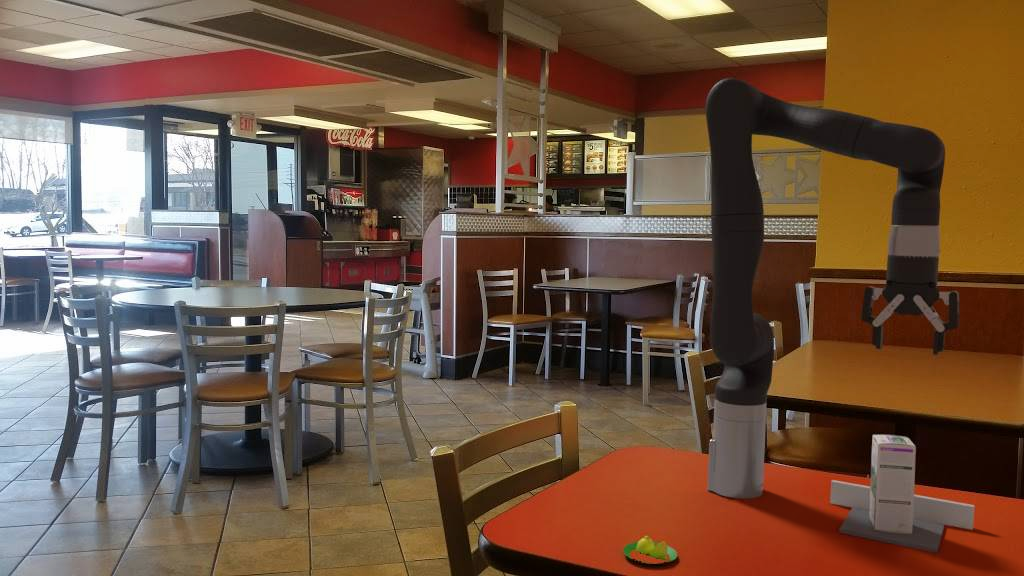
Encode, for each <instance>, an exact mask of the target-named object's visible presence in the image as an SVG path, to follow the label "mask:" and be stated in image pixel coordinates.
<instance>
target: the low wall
mask: <svg viewBox="0 0 1024 576" xmlns="http://www.w3.org/2000/svg"><path fill="white" fill-rule="evenodd" d="M829 500H830V501H829V504H832V505H837V506H843V507H847V508H851V509H852V508H853V507H854V508H860V509H865V510H869V507H870V486H868V485H863V484H858V483H857V484H856V483H851V482H846V481H841V480H835V479H831V484H830V499H829ZM913 519H917V520H922V521H927V522H932V523H937V524H942V525H944V526H950V527H957V528H960V529H966V530H971V531H972V530H974V522H975V521H974V520H975V505H974V504H969V503H963V502H960V501H959V502H958V501H952V500H948V499H940V498H937V497H936V498H935V497H930V496H924V495H919V494H914V509H913Z"/></svg>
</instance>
